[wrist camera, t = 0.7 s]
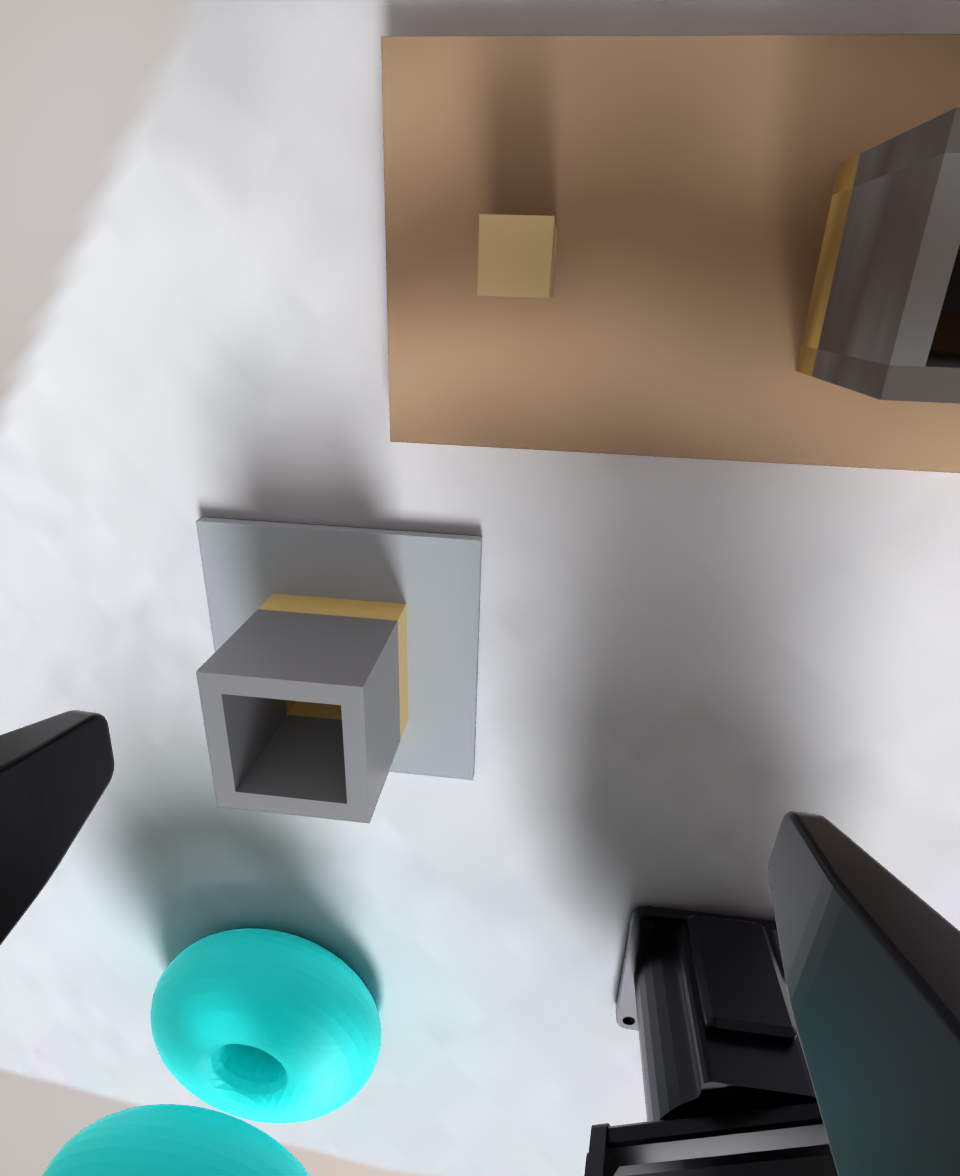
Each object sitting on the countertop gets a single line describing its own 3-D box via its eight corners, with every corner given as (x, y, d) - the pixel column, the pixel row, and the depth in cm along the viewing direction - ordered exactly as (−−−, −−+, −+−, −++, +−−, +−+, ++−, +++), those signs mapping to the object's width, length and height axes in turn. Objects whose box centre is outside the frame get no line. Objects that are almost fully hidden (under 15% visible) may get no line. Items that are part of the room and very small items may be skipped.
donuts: (265, 1393, 24) (-5, 1297, 23) (349, 1090, 33) (156, 1015, 32) (351, 1277, 20) (26, 1157, 19) (420, 967, 29) (200, 880, 28)
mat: (474, 772, 24) (472, 780, 24) (234, 748, 25) (229, 755, 25) (481, 536, 21) (480, 540, 20) (202, 517, 22) (195, 521, 21)
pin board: (983, 464, 18) (1168, 541, 13) (400, 433, 20) (333, 489, 14) (1120, 52, 15) (1465, -98, 9) (393, 53, 16) (300, -75, 11)
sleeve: (408, 719, 23) (369, 823, 19) (284, 707, 24) (217, 806, 19) (406, 604, 22) (363, 687, 17) (273, 593, 22) (196, 672, 17)
